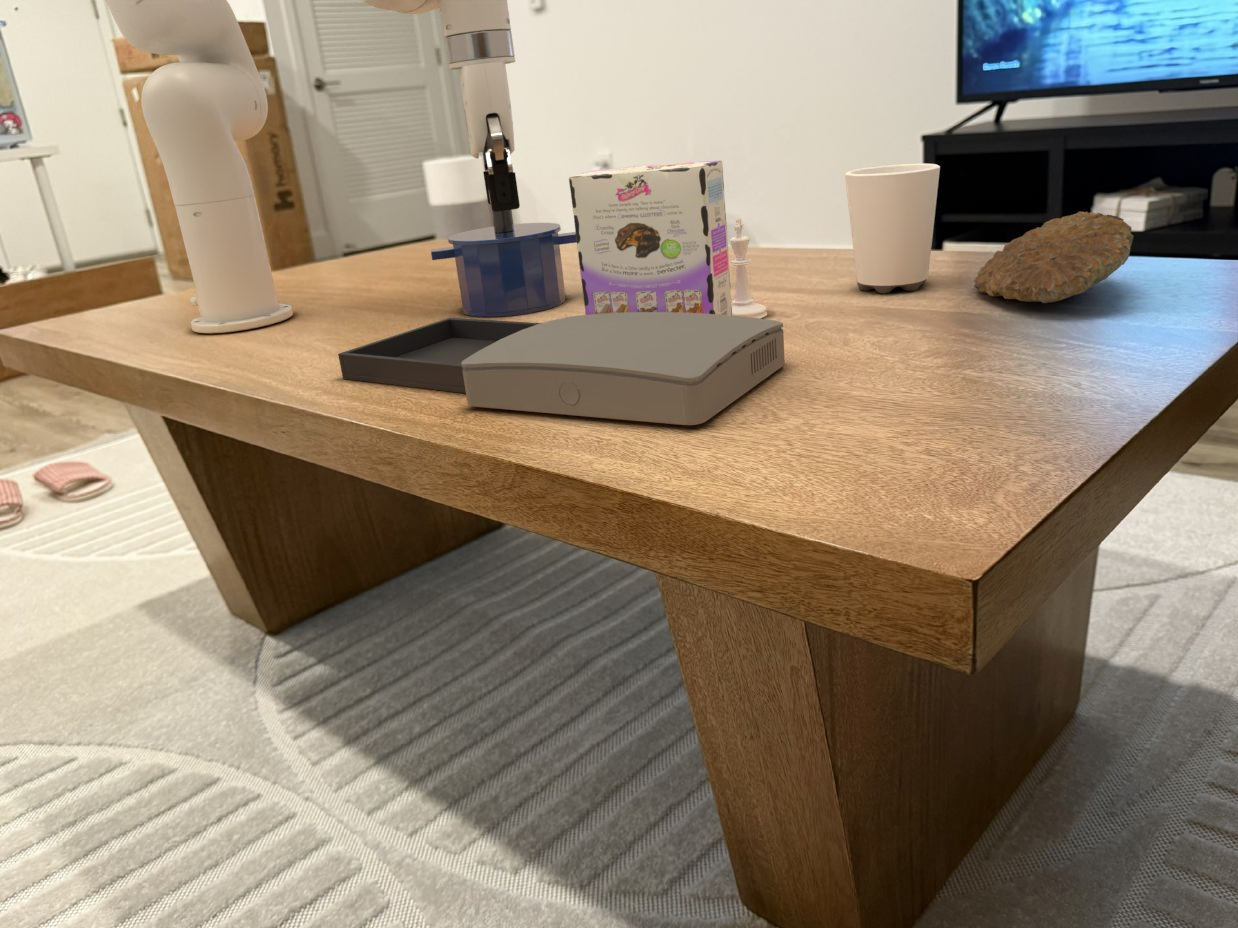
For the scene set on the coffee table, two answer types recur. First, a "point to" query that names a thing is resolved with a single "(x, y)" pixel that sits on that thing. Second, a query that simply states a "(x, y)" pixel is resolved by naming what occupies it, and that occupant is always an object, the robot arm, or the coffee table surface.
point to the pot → (509, 275)
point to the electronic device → (627, 365)
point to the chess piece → (743, 279)
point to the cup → (892, 224)
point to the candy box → (653, 238)
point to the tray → (426, 353)
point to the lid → (504, 231)
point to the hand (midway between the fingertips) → (503, 206)
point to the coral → (1058, 258)
